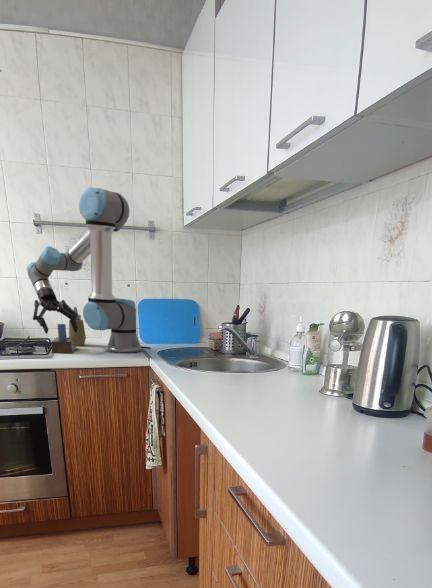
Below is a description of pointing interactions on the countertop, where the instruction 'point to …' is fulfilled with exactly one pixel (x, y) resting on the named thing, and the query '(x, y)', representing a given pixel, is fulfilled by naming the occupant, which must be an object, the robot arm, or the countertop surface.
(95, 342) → the countertop surface
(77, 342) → the squeeze bottle
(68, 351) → the peg stand
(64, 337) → the peg
